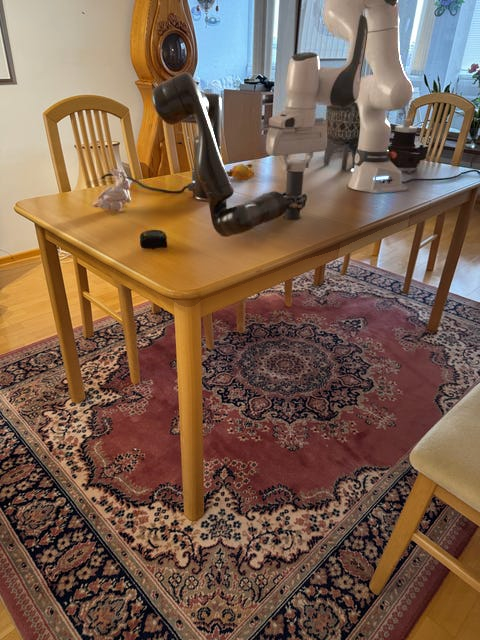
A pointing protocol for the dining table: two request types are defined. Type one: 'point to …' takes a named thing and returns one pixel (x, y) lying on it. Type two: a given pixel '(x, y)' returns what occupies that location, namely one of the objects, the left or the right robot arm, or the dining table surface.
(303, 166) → the lid
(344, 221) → the dining table surface
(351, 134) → the planter
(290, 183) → the jar
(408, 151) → the mechanical component
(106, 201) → the figurine
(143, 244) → the tape measure
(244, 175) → the toy
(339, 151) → the rock
